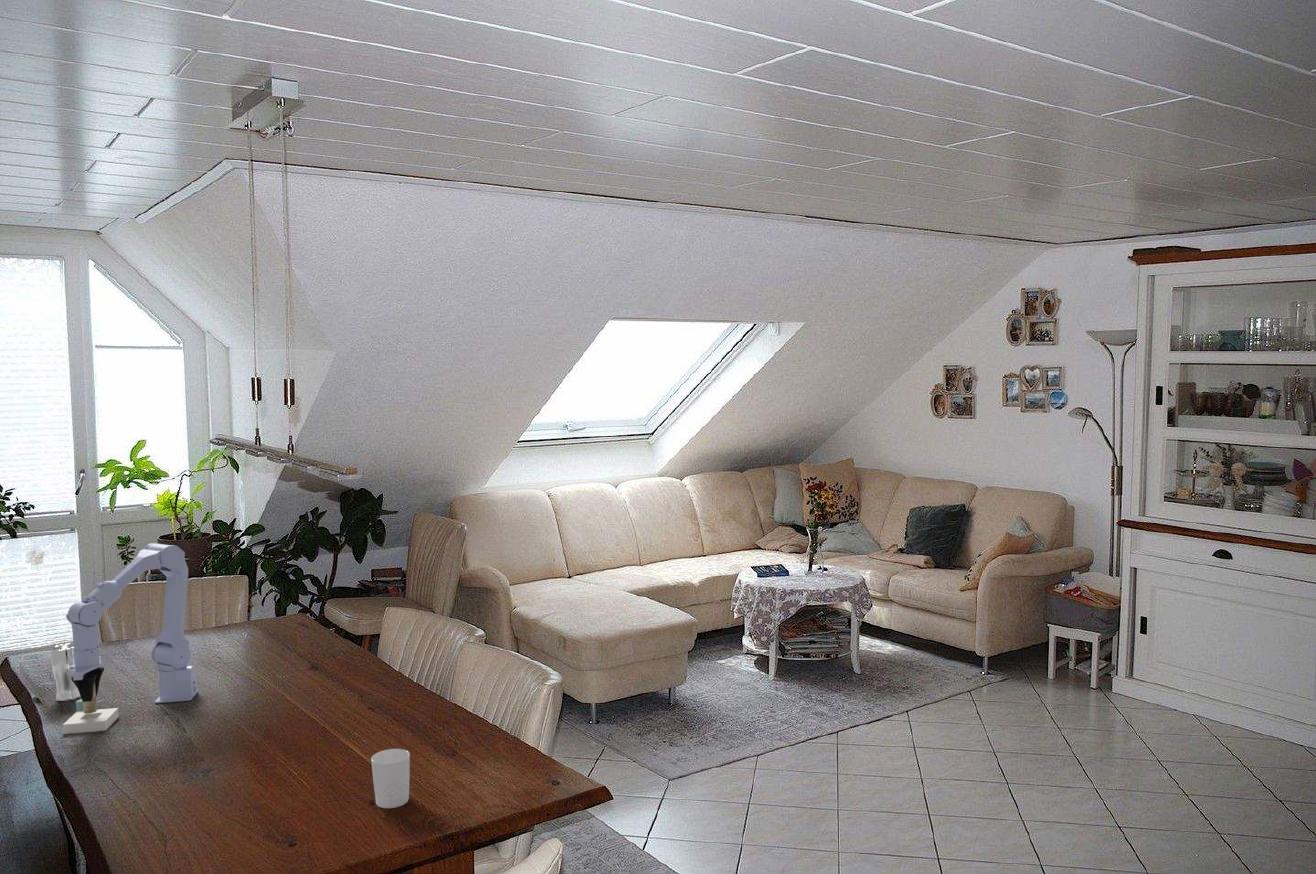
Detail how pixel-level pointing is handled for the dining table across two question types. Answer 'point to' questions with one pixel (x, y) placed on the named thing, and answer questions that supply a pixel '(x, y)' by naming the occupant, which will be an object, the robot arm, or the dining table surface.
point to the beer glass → (64, 672)
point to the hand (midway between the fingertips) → (89, 699)
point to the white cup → (391, 777)
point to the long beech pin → (90, 704)
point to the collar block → (90, 721)
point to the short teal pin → (79, 705)
